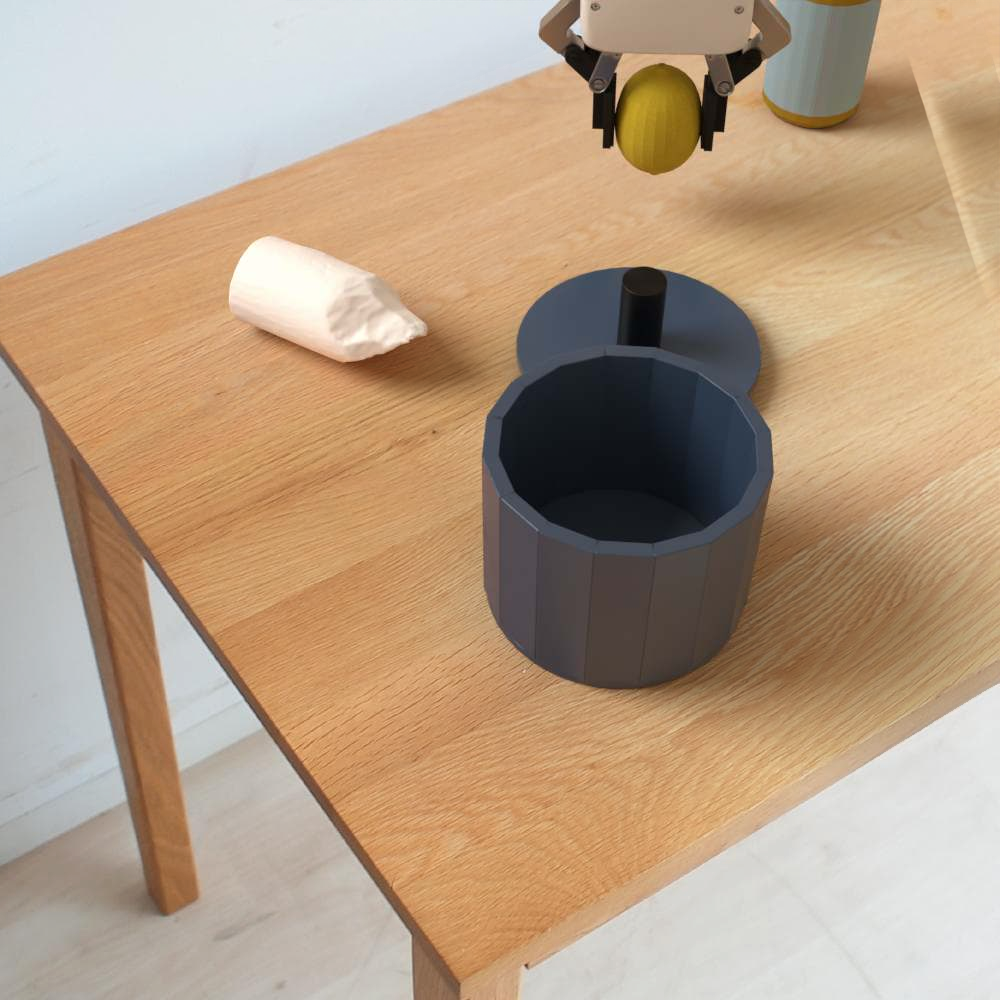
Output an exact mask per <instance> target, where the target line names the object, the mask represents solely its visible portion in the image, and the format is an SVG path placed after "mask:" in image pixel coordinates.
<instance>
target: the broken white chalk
mask: <svg viewBox="0 0 1000 1000" xmlns="http://www.w3.org/2000/svg"><path fill="white" fill-rule="evenodd" d="M228 305H229V309H230V313H231V315H232V316H233V318H234V319H236V320H237V321H239V322H242V323H245V324H247V325H250V326H251V327H255V328H257V329H260V330H263V331H265V332H267V333H269V334H272V335H275V336H277V337H279V338H282V339H283V340H284V339H285V340H286V341H289V342H291V343H294V344H296V345H298V346H301V347H303V348H305V349H308V350H310V351H312V352H314V353H317V354H319V355H322V356H324V357H326V358H329V359H332V360H334V361H337V362H340V363H346V362H347V363H348V362H358V361H362V360H363V361H364V360H366V359H368V358H369V359H370V358H373V357H375V356H376V355H385V353H387V352H391V351H393V350H395V349H396V348H399V347H400V345H405V344H408V343H410V340H414V339H415V338H417V337H425V336H427V335H428V331H429V329H428V325H427V323H426V322H424V321H423V320H422V319H421V318H420V317H419V316H417V315H415V314H414V313H413V312H412V311H410V310H409V309H408V308H407V306H406V305H405V303H403V301H402V299H401V297H400V294H399V293H398V292H397V290H396V289H395V288H394V286H392V284H391V283H389V282H388V281H386V279H384V278H383V277H381V276H379V275H377V274H375V273H373V272H371V271H368V270H365V269H363V268H361V267H358V266H356V265H354V264H350V263H348V262H345V261H343V260H341V259H338V258H337V257H334V256H332V255H330V254H328V253H327V252H324V251H322V250H319V249H316V248H311V247H309V246H305V245H300V244H297V243H295V242H293V241H290V240H287V239H284V238H282V237H279V236H275V235H267V236H263V237H260V238H259V239H256V240H255V241H253V242H252V243H251V244H250V245H249V246H248V248H247V249H246V250H244V253H243V254H242V256H241V257H240V259H239V261H238V263H237V265H236V267H235V270H234V272H233V274H232V278H231V279H230V284H229V293H228Z"/></svg>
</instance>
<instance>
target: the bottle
mask: <svg viewBox="0 0 1000 1000" xmlns="http://www.w3.org/2000/svg"><path fill="white" fill-rule="evenodd" d="M882 2H883V0H775V2H774V3H775V4H774V6H775V8H776V9H777V10H778V11H779V12H780V14H781V15H782V16H783V17H784V18H785V19H786V21H787V22H788V23H789V25H790V28H791V37H792V40H791V42H790V43H789V44H788V45H787V46H786V47H784V48H783V49H781V50H780V51H779V52H777V53H776V54H774V55H773V56H771V57H770V58H769V59H766V61H765V68H764V74H763V81H762V91H761V94H762V95H761V96H762V100H763V102H764V104H766V106H767V107H768V108H769V110H770V111H771V113H772V114H773V115H774V116H776V117H777V118H778V119H779V120H781V121H783V122H785V123H788V124H790V125H793V126H796V127H800V128H801V127H802V128H807V129H822V128H828V127H833V126H836V125H838V124H840V123H842V122H844V121H845V120H847V119H848V118H850V117H851V116H853V114H855V112H856V111H858V109H859V105H860V102H861V98H862V94H863V90H864V86H865V80H866V76H867V72H868V66H869V62H870V58H871V53H872V49H873V48H872V47H873V43H874V39H875V34H876V29H877V24H878V20H879V17H880V16H879V15H880V11H881V6H882Z"/></svg>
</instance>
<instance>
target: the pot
mask: <svg viewBox="0 0 1000 1000" xmlns="http://www.w3.org/2000/svg"><path fill="white" fill-rule="evenodd" d="M774 475H775V468H774V451H773V437H772V431H771V429H770V427H769V425H768V424H767V422H766V420H765V419H764V418H763V416H762V415H761V413H760V411H759V409H758V408H757V406H756V404H755V403H754V401H753V400H752V398H751V397H750V395H748V394H747V393H746V392H745V391H743V390H742V389H741V388H739V387H738V386H737V385H735V384H734V383H732V382H731V381H730V380H728V379H727V378H726V377H724V376H723V375H721V374H720V373H719V372H717V371H716V370H714V369H713V368H712V367H710V366H709V365H706V364H704V363H701V362H698V361H695V360H692V359H689V358H686V357H683V356H680V355H677V354H674V353H671V352H668V351H665V350H662V349H659V348H657V347H640V346H621V345H601V346H596V347H592V348H587V349H583V350H578V351H574V352H570V353H565V354H561V355H556V356H554V357H551V358H549V359H548V360H546V361H544V362H543V363H541V364H539V365H538V366H536V367H534V368H533V369H531V370H529V371H528V372H526V373H524V374H523V375H521V374H520V375H519V376H518V377H516V378H514V379H513V380H511V381H510V382H509V384H508V385H507V387H506V388H505V389H504V391H503V392H502V393H501V395H500V396H499V398H498V399H497V400H496V402H495V403H494V404H493V406H492V407H491V409H490V410H489V412H488V413H487V415H486V416H485V425H484V434H483V442H482V452H481V497H482V498H481V500H482V505H481V506H482V554H483V556H482V560H483V561H482V568H483V588H484V591H485V594H486V599H487V603H488V605H489V609H490V612H491V614H492V617H493V618H494V620H495V623H496V624H497V626H498V628H499V629H500V631H501V632H502V634H503V635H504V636H505V638H506V639H507V640H508V641H509V642H510V643H511V645H512V646H513V647H515V649H516V650H517V651H518V652H520V653H521V654H522V655H523V656H524V657H525V658H526V659H528V660H529V661H531V662H532V663H534V664H535V665H537V666H539V668H542V669H543V670H545V671H547V672H549V673H551V674H553V675H555V676H558V677H559V678H563V679H565V680H568V681H571V682H574V683H577V684H582V685H586V686H591V687H594V686H595V688H596V687H597V688H604V689H612V690H613V689H619V690H620V689H621V690H623V689H624V690H627V689H628V690H630V689H640V688H649V687H653V686H658V685H661V684H665V683H670V682H671V681H674V680H677V679H680V678H682V677H684V676H686V675H688V674H691V673H693V672H694V671H696V670H698V669H700V668H701V667H702V666H704V665H706V663H708V662H710V660H711V659H712V658H715V656H716V655H717V654H719V653H720V651H721V650H722V649H723V648H724V647H725V645H726V644H727V643H728V642H729V641H730V639H731V638H732V636H733V634H734V632H735V631H736V629H737V627H738V625H739V622H740V619H741V617H742V615H743V612H744V610H745V607H746V606H747V602H748V598H749V592H750V588H751V583H752V579H753V575H754V569H755V565H756V560H757V555H758V551H759V546H760V542H761V536H762V531H763V528H764V527H763V526H764V522H765V517H766V512H767V508H768V503H769V499H770V493H771V490H772V483H773V479H774Z"/></svg>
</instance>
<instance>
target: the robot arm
mask: <svg viewBox="0 0 1000 1000" xmlns="http://www.w3.org/2000/svg"><path fill="white" fill-rule="evenodd" d="M579 19H580V21H579V23H580V34H581V35H579V34H576V33H575V32H574V30H573V29H572V28H571V27H572V26H573V25H574V24H575V23H576V22H577V21H578V20H579ZM752 24H754V26H755V27H756V28H757V29H758V30H759V32H757V33H756V34H755V35H754V36H753V37H752V38H751V36H750V35H751V31H752ZM538 38H539V39H540V40H541V41H542V42H543V43H545V44H546V45H547V46H548V47H549V48H550V49H552V50H553V51H554V52H555V53H556V54H558V55H560V56H561V57H563V58H564V61H565V63H566V64H567V65H568V66H569V67H570V68H571V69H572V70H574V71H575V72H576V73H577V74H578V75H579V76H580V77H581V78H582V79H583V80H585V81H586V82H587V83H588V89H589V90H590V91H591V92H592V120H591V122H592V123H591V124H592V125H591V127H592V128H591V129H592V130H602V149H603V150H604V149H605V150H606V149H607V150H610V149H611V147H612V148H613V147H615V111H616V104H617V103H616V101H617V76H618V75H617V74H618V72H617V71H616V70H617V68H618V65H619V64H620V61H621V59H622V56H623V54H631V55H632V54H635V55H671V56H672V55H678V56H704V58H705V59H704V60H705V63H706V65H707V69H708V70H707V74H704V77H703V86H702V87H703V88H702V100H701V106H702V129H701V134H700V138H699V141H700V150H703V152H713V145H714V135H715V133H724V132H725V128H726V118H727V109H728V100H729V96H731V95H732V94H733V93H734V91H735V88H736V86H737V85H738V84H740V83H741V82H742V81H743V80H744V79H746V78H747V77H749V76H750V75H751V74H752V73H754V72H755V71H756V70H758V69H759V68H760V67H761V65H762V63H763V62H764V61H765V60H767V59H769V58H770V57H771V56H773V55H774V54H776V53H777V52H779V51H780V50H781V49H783V48H784V47H786V46H787V45H788V44H789V43H790V42H791V40H792V37H791V28H790V25H789V23H788V22H787V21H786V19H785V18H784V17H783V16H782V15H781V14H780V12H779V11H778V10H777V9H776V8H775V4H773V3H772V1H771V0H559V1H558V2H557V3H555V5H554V6H553V7H552V8H550V10H549V11H548V12H547V13H546V14H545V15H544V16H543V17H541V19H540V21H539V28H538Z"/></svg>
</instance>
